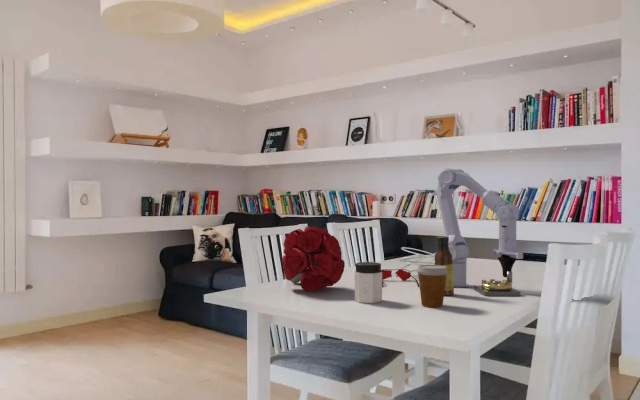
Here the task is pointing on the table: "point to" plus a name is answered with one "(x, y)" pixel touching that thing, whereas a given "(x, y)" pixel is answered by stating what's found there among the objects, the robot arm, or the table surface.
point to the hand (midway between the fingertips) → (507, 277)
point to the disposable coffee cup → (432, 284)
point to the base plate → (497, 292)
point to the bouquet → (312, 258)
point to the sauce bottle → (445, 262)
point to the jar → (368, 282)
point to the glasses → (401, 273)
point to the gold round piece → (499, 283)
